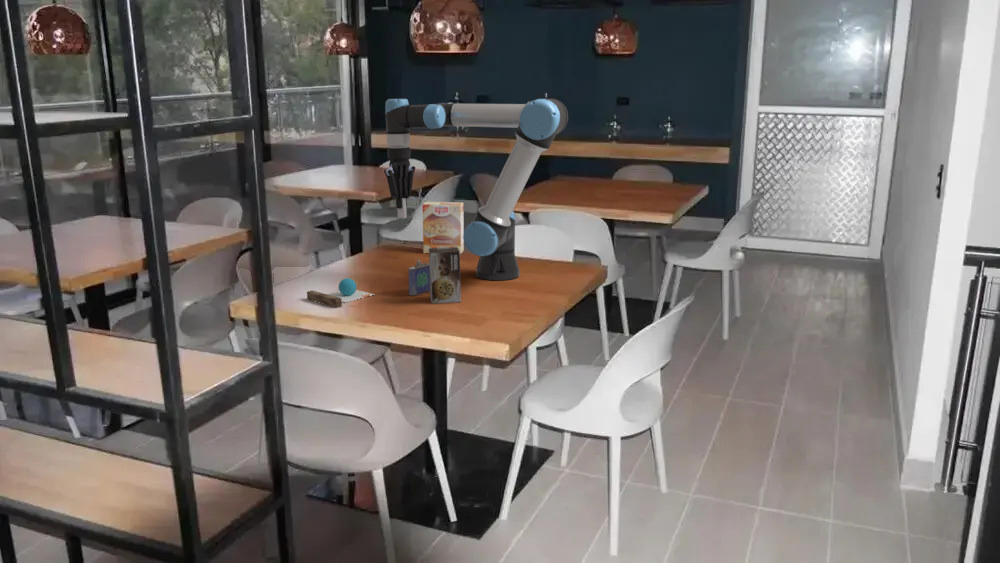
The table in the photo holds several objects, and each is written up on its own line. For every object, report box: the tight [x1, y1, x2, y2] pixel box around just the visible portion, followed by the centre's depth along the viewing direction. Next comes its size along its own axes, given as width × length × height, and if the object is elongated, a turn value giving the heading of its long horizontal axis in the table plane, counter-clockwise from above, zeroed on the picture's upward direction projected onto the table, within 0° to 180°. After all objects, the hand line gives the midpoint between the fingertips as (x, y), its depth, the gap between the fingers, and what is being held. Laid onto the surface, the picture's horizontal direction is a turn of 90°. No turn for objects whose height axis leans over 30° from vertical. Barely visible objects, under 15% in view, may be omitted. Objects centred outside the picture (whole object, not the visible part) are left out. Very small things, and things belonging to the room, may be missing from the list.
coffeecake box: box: [422, 201, 465, 254], centre depth 315 cm, size 15×7×20 cm, turn 83°
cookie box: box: [428, 247, 462, 305], centre depth 249 cm, size 9×6×16 cm
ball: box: [338, 277, 357, 296], centre depth 255 cm, size 6×6×6 cm
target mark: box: [326, 289, 376, 304], centre depth 256 cm, size 12×12×1 cm
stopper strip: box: [306, 290, 343, 309], centre depth 247 cm, size 14×2×2 cm, turn 50°
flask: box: [408, 259, 430, 297], centre depth 258 cm, size 9×3×11 cm, turn 141°
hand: (402, 217), depth 273 cm, fingers closed
